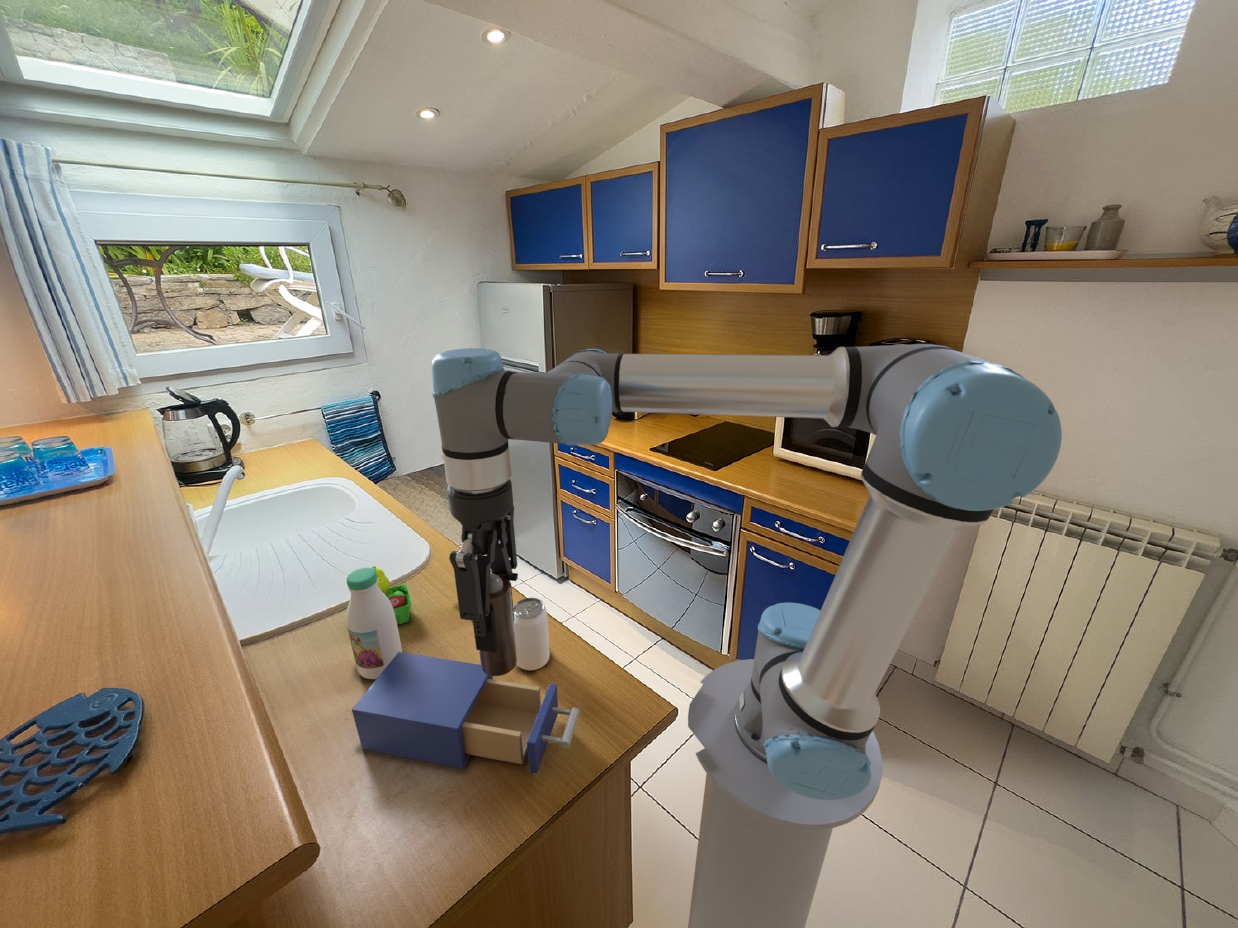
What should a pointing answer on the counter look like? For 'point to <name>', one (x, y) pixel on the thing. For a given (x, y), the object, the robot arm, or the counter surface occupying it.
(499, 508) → the robot arm
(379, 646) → the milk bottle
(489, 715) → the drawer
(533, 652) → the can
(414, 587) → the counter surface
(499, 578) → the pepper mill
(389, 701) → the cabinet
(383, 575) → the fruit basket
